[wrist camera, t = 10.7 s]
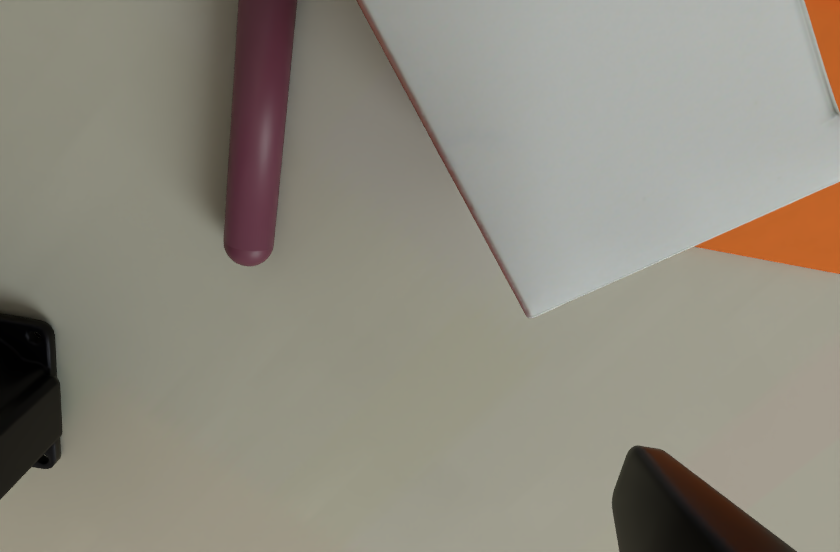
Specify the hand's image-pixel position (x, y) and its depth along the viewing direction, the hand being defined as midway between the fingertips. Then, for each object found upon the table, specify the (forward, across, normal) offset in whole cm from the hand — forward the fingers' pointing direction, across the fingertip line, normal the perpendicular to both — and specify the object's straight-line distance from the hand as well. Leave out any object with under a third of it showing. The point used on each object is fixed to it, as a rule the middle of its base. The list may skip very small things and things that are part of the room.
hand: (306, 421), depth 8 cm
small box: (+13, -3, -6) cm, 14 cm away
